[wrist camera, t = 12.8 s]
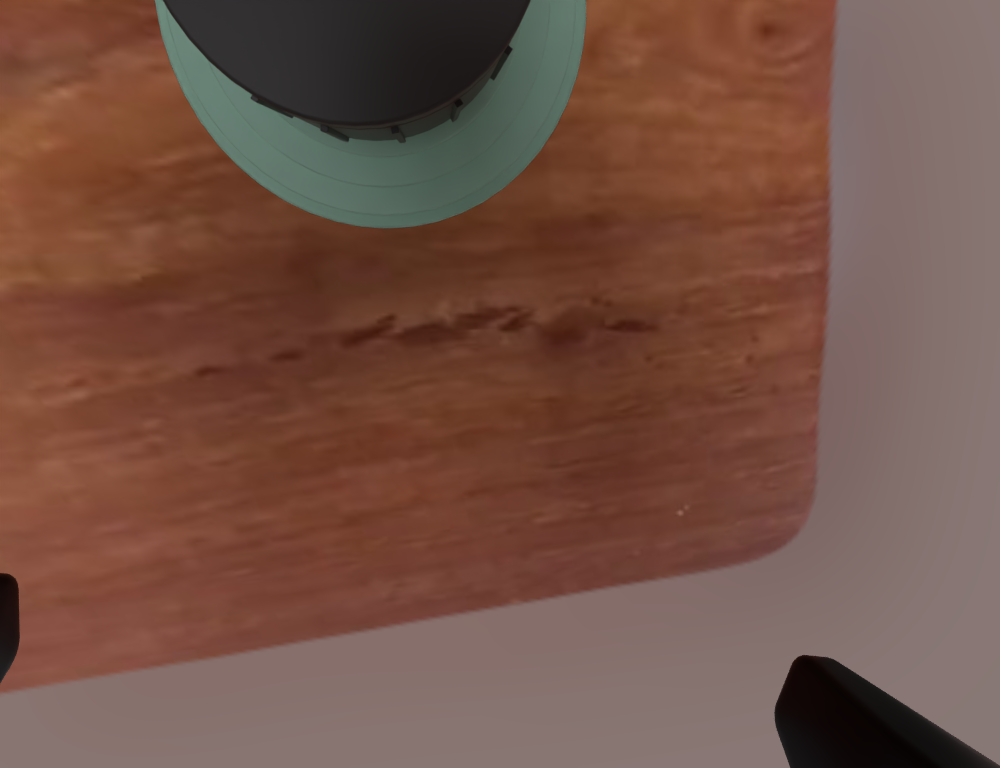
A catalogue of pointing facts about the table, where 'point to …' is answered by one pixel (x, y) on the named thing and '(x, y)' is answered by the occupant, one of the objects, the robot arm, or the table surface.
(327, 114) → the cap
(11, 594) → the robot arm
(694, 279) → the table surface
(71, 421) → the table surface
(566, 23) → the bottle
